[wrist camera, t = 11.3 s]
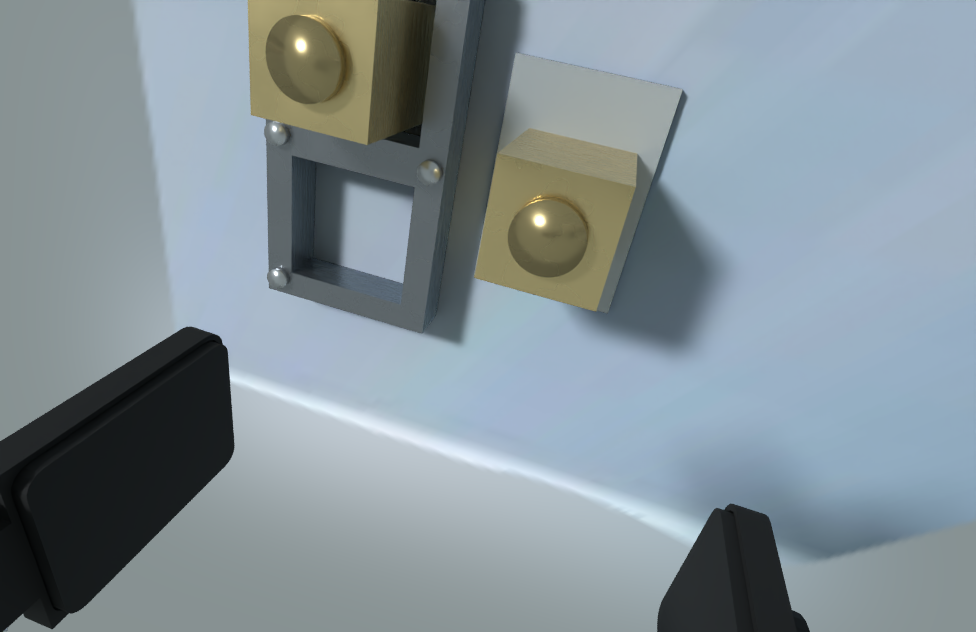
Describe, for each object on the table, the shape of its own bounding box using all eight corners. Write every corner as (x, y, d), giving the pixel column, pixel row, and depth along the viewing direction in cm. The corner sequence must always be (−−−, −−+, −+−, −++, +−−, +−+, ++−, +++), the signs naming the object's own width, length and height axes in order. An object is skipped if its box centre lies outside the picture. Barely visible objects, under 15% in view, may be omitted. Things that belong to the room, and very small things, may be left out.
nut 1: (438, 6, 26) (371, -5, 20) (424, 122, 29) (360, 147, 22) (335, -17, 27) (236, -34, 20) (330, 99, 30) (242, 116, 23)
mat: (682, 89, 25) (682, 89, 25) (608, 310, 31) (607, 313, 31) (517, 52, 26) (515, 52, 26) (475, 273, 32) (473, 276, 32)
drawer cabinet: (491, -40, 25) (474, -49, 22) (435, 315, 34) (419, 336, 32) (293, -79, 26) (256, -92, 24) (291, 272, 35) (265, 290, 33)
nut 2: (637, 153, 27) (635, 190, 20) (605, 255, 29) (595, 317, 23) (529, 128, 27) (493, 155, 21) (507, 229, 30) (470, 283, 23)
